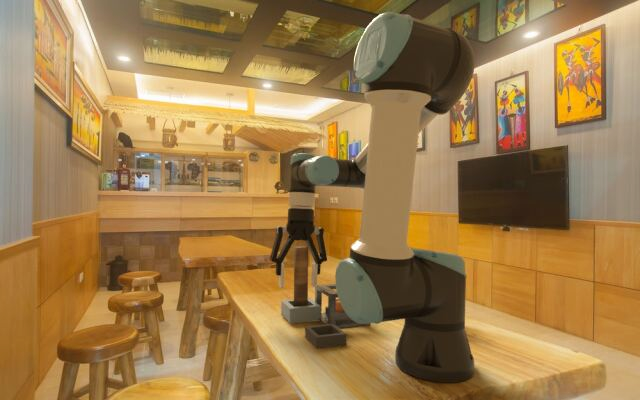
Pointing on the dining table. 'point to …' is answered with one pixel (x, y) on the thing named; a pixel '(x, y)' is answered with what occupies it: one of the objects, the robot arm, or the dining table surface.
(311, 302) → the grey square holder
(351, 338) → the dining table surface
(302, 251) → the bar
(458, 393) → the dining table surface
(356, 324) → the guard frame
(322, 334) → the stand
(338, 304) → the breaker button
